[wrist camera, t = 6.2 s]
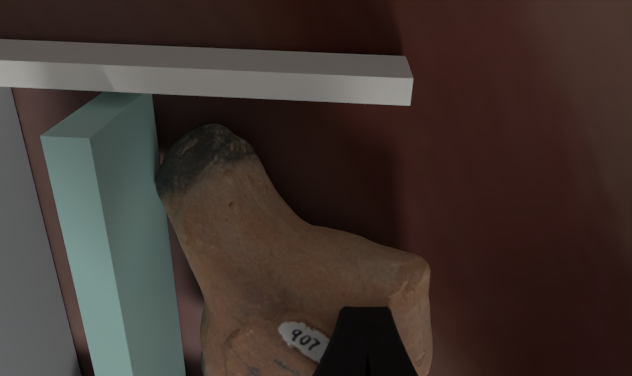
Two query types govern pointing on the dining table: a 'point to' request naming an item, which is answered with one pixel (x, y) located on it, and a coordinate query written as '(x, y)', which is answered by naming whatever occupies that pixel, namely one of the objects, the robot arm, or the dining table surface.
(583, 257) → the dining table surface
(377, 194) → the dining table surface
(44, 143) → the panel
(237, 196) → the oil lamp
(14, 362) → the pusher lane
